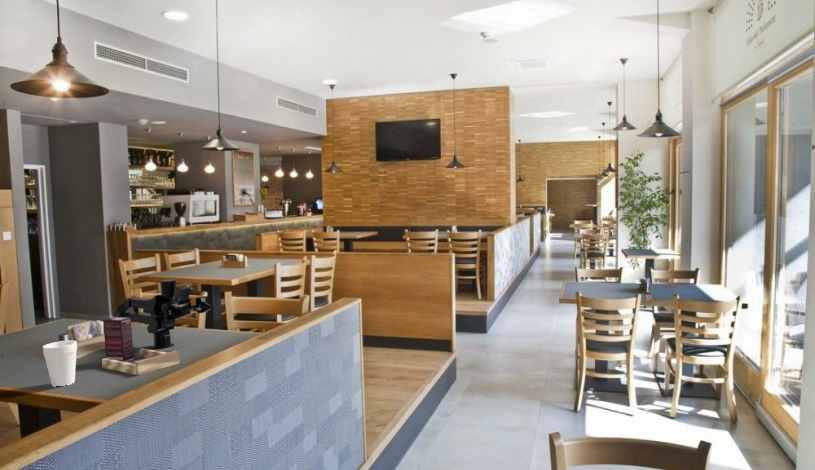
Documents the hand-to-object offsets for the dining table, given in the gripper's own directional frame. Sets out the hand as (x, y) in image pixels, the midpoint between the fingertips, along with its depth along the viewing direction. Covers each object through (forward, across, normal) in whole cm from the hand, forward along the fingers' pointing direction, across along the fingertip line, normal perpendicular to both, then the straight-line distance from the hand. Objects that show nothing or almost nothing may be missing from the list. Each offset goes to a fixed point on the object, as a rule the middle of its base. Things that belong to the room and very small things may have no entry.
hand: (201, 309), depth 214 cm
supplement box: (-21, -20, +17) cm, 34 cm away
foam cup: (-13, -44, +17) cm, 49 cm away
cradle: (-9, -20, +17) cm, 28 cm away
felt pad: (-8, -20, +17) cm, 27 cm away
